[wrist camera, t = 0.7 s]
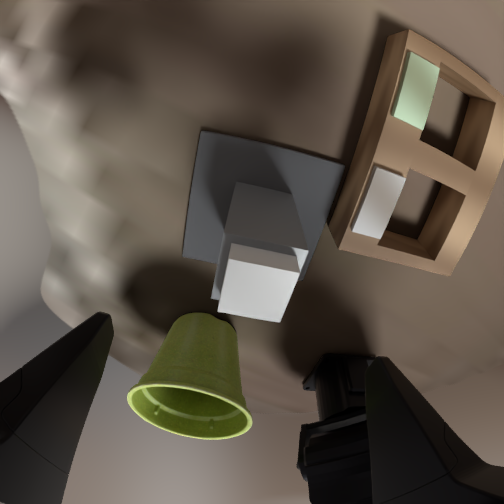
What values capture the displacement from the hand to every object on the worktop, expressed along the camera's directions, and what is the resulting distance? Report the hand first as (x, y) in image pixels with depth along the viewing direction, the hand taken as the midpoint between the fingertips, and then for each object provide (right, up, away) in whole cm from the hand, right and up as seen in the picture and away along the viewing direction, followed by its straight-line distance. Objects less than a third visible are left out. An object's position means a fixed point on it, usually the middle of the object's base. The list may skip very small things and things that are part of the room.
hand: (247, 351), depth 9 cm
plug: (+1, +6, +10) cm, 11 cm away
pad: (+1, +6, +10) cm, 12 cm away
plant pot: (-4, -4, +17) cm, 18 cm away
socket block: (+12, +10, +8) cm, 17 cm away
